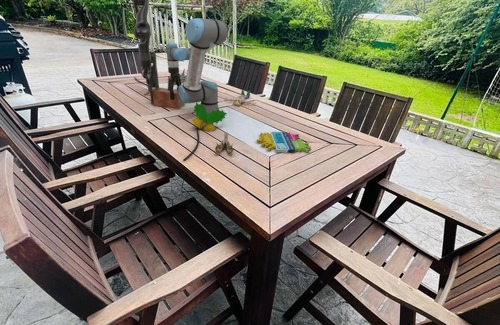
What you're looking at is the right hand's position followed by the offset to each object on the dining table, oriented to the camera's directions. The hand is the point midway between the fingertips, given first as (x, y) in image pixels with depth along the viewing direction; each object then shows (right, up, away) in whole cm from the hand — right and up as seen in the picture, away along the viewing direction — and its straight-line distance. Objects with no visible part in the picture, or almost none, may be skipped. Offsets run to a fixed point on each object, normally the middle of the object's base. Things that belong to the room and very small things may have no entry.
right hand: (175, 97), depth 196 cm
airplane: (-17, +34, +71) cm, 81 cm away
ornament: (+30, -27, -31) cm, 51 cm away
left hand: (-20, +10, -1) cm, 23 cm away
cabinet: (-6, -5, +4) cm, 9 cm away
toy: (+49, +3, +25) cm, 55 cm away
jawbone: (+42, -43, -57) cm, 83 cm away
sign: (+74, -37, -43) cm, 94 cm away
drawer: (-12, -3, +4) cm, 13 cm away
